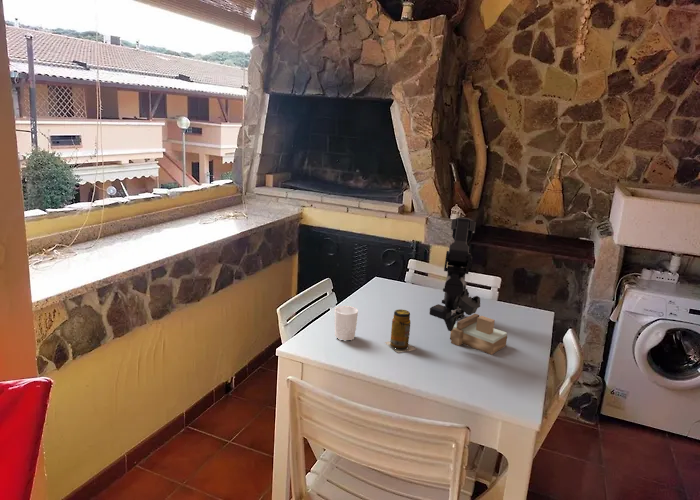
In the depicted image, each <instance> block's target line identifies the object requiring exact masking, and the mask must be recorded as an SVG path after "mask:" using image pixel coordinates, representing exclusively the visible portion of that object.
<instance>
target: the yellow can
mask: <svg viewBox="0 0 700 500" xmlns="http://www.w3.org/2000/svg"><path fill="white" fill-rule="evenodd" d="M410 318H411V313H410V311H408V310H406V309H402V308H401V309H396V310H394V312H393V318H392V321H391V331H390V332H391V333H390V341H385V342H384V343H385V344H386V345H387V346H388V347H389V348H391V349H392V350H393V351H395V352H396V353H405V352H406V353H407V352H410V351H416V350H417V348H415V347H413V346H412V345H411V344H409V340H410V333H411V319H410ZM395 348H396V349H395Z"/></svg>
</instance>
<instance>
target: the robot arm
mask: <svg viewBox="0 0 700 500" xmlns="http://www.w3.org/2000/svg"><path fill="white" fill-rule="evenodd" d="M476 223H477V222H476V221H474V220H473V219H470V218H468V217H456V218H453V219H451V226H450V231H451V232H452V239H453V241H454V242H453V243H451V244H449V247H448V248H449V249H448V250H446V254H445V259H444V260H445V261H444V268H443V271H444V272H446V273H447V274H446V279H445V283H444V287H443V288H442V292H444V298H443V299H441V304H438V303H437V304H435V305H433V306H431V307H429V313H428V314H429V315H430V316H432V317H435V318H438V319H441V320H443V321H444V323H445V326H446V329H447V331H448V332H451V331H452V330H453V327H454V325H455V324H457V322H458V321H459V320H461V319H462V318H464V317H465V316H466V315H467V316H471V315H473V314H476V312H477V310H478V309H479V308H480V307H481V297H479V296H478V295H475V296H473V297H472V296H470V293H469V289H468V288H467V282H466V280H465V279H466V275H469V273H470V272H471V270H472V264H473V256H472V254H471V253H469V252H470V251H469V250H470V246H469V245H468V244H469V242H470V241H471V240H472V239H473V234H475V230H476ZM465 314H466V315H465ZM457 320H458V321H457Z"/></svg>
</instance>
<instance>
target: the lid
mask: <svg viewBox="0 0 700 500" xmlns="http://www.w3.org/2000/svg"><path fill="white" fill-rule="evenodd" d="M495 322H496V320H495V319H493V318H489V317H488V316H487V317H486V316H485V315H484V316H483V315H479V317H478V318H477V322H475V323H473V324H471V325H469V326H467V327H465V328H463V329H461V330H464V331H463V333H465V334H468V335H471V336H473V337H476V338H479V339H482V340H484V341H487V342H490V343H495V342H496V341H498V340H500V339H502V338H503V337H505V336H507V337H508V332H506V331H504V330H500V329H497V328H495ZM454 328H457V323H455V325H454V327H453V329H454Z"/></svg>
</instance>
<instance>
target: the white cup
mask: <svg viewBox="0 0 700 500" xmlns="http://www.w3.org/2000/svg"><path fill="white" fill-rule="evenodd" d="M358 313H359V310H358V308H356V307H354V306H350V305H340V306H337V307H335V308H334V337H335V336H336V337H337V338H338V339H342V340H351V341H353V340H355V338H354V337H356V330H357V324H358V316H359V315H358ZM336 337H335V338H336ZM338 339H337V340H338ZM352 339H353V340H352Z"/></svg>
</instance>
